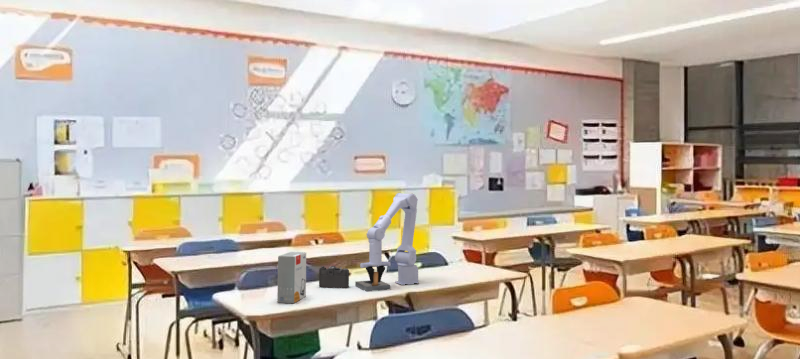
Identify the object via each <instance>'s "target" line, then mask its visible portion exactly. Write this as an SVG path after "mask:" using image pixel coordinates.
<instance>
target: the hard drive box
mask: <svg viewBox="0 0 800 359" xmlns="http://www.w3.org/2000/svg"><path fill="white" fill-rule="evenodd" d="M276 297H277V301H276V302H277V303H283V304H295V303H297V302H299V301H301V300H302V299H304V298H306V297H307V252H304V251H289V252H287V253H284V254H280V255H278V257H277V295H276Z"/></svg>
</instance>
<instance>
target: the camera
mask: <svg viewBox="0 0 800 359" xmlns="http://www.w3.org/2000/svg"><path fill="white" fill-rule="evenodd" d="M349 287H350V270H349V269H348V268H342V266H340V267H337V266H335V265H331V266H329V267H328V268H326V267H325V266H320V267H319V268H318V288H322V289H323V288H325V289H326V288H327V289H349Z"/></svg>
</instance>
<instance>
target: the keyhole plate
mask: <svg viewBox="0 0 800 359" xmlns="http://www.w3.org/2000/svg"><path fill="white" fill-rule="evenodd" d="M354 283H355V284H354V285H355V287H356V288H359V289H361V290H362V291H364V290H365V292H373V291H372V290H378V291H387V289H390V290H391V284H390V283H387V282H384V281H383V280H381V282H378V285H374V286H373V285H372V283H371V282H370V280H360V281H355V282H354Z"/></svg>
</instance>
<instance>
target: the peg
mask: <svg viewBox="0 0 800 359" xmlns="http://www.w3.org/2000/svg"><path fill="white" fill-rule="evenodd" d="M373 279H374V281H373V283H372V285H373V286H374V285H378V272H377V271H374V275H373Z"/></svg>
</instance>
